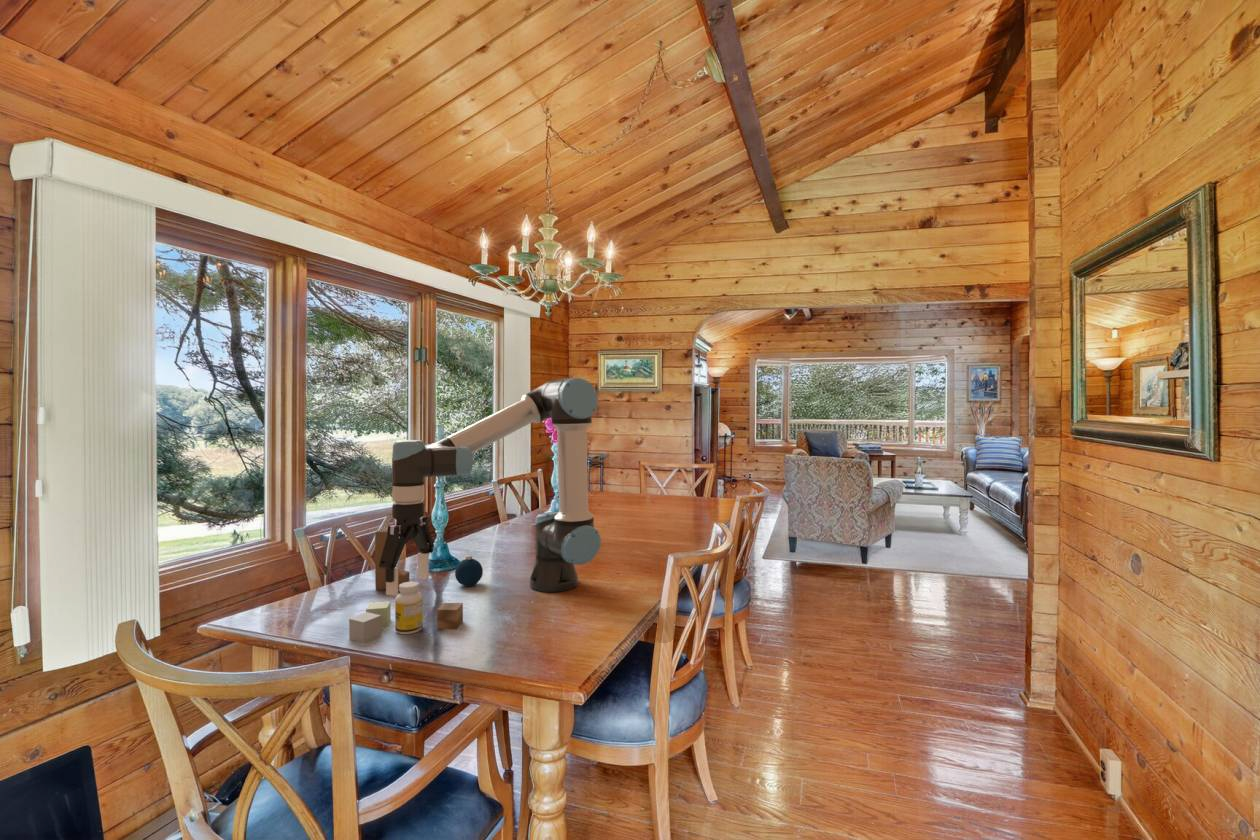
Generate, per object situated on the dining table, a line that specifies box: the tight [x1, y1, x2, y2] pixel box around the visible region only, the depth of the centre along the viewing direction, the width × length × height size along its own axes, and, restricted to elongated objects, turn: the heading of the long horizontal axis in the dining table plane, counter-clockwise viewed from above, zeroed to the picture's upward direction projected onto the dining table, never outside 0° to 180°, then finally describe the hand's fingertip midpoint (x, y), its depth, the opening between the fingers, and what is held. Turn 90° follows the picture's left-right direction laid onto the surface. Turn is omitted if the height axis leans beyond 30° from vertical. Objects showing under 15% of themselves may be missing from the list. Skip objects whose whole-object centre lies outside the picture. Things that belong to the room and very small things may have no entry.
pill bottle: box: [394, 581, 424, 635], centre depth 143 cm, size 6×6×12 cm
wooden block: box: [374, 528, 410, 591], centre depth 176 cm, size 9×4×18 cm, turn 92°
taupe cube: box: [348, 611, 382, 643], centre depth 139 cm, size 5×5×5 cm
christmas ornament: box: [454, 553, 484, 587], centre depth 179 cm, size 8×8×10 cm
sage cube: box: [365, 600, 392, 628], centre depth 147 cm, size 5×5×5 cm
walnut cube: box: [436, 602, 464, 630], centre depth 146 cm, size 5×5×5 cm
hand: (408, 586), depth 143 cm, fingers open, 13 cm apart
